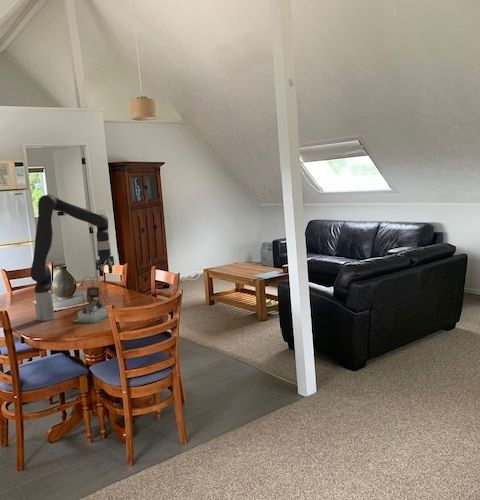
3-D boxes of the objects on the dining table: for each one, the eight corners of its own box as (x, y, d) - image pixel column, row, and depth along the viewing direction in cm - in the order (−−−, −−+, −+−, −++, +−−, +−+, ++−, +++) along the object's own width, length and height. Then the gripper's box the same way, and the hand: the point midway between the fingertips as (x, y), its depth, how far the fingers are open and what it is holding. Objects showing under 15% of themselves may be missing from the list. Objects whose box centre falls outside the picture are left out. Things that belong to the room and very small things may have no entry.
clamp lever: (89, 313, 290) (88, 311, 289) (85, 313, 291) (84, 311, 290) (99, 299, 298) (98, 297, 297) (94, 299, 299) (93, 297, 298)
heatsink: (72, 321, 291) (71, 309, 289) (93, 312, 308) (92, 301, 307) (95, 323, 285) (94, 311, 284) (115, 314, 302) (113, 302, 301)
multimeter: (82, 310, 314) (78, 280, 311) (83, 306, 324) (80, 276, 320) (105, 308, 317) (102, 277, 314) (106, 304, 326) (103, 274, 323)
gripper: (106, 246, 304) (108, 272, 306) (90, 250, 291) (93, 277, 294) (116, 246, 301) (118, 272, 304) (101, 250, 288) (103, 277, 291)
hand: (106, 274), depth 299 cm, fingers open, 8 cm apart
